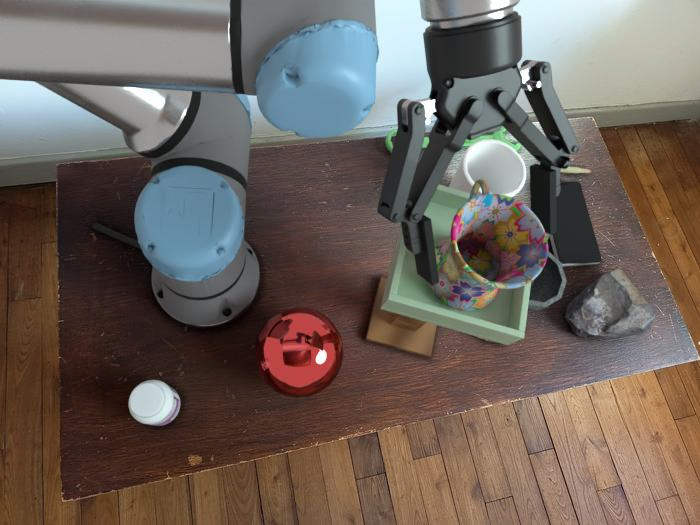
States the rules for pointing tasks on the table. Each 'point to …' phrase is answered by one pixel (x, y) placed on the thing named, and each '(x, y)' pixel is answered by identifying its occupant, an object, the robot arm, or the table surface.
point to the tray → (422, 304)
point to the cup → (490, 168)
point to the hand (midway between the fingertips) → (487, 252)
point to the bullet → (575, 170)
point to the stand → (399, 328)
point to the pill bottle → (154, 403)
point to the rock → (610, 309)
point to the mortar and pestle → (547, 284)
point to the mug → (488, 250)
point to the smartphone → (573, 229)
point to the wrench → (496, 136)
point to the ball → (298, 352)
